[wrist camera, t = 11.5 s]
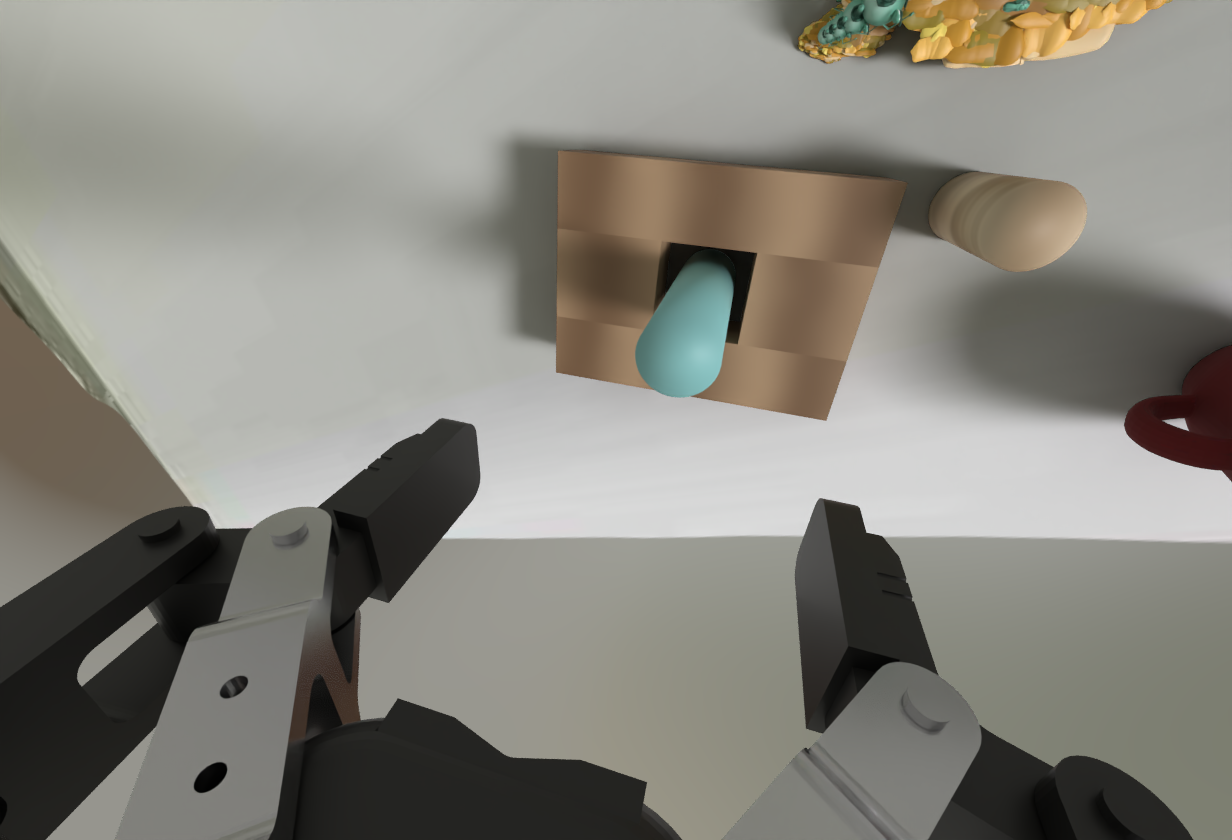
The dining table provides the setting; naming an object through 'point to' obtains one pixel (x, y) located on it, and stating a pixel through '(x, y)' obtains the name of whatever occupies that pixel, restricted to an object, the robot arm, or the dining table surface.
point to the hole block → (729, 219)
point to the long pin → (689, 327)
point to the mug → (1191, 417)
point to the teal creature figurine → (972, 29)
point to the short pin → (1008, 218)
